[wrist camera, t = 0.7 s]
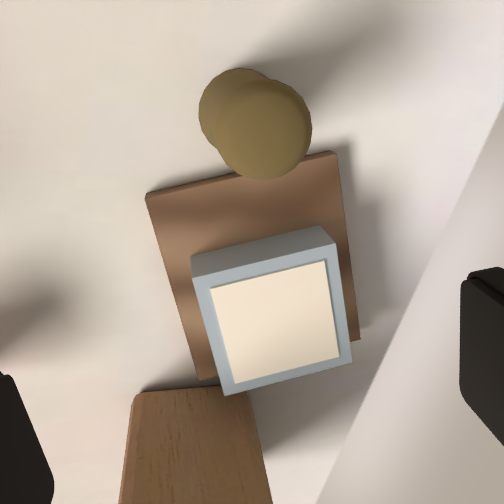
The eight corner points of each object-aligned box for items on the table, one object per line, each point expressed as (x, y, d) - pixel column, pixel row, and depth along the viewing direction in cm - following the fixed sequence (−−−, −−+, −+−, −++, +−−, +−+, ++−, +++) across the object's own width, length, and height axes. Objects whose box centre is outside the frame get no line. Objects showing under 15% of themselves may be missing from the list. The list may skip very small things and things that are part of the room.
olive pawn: (299, 99, 34) (351, 114, 24) (254, 171, 36) (284, 215, 25) (227, 49, 32) (250, 43, 22) (182, 128, 34) (185, 156, 24)
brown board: (146, 193, 35) (144, 198, 34) (330, 150, 36) (336, 154, 34) (198, 370, 41) (199, 380, 40) (354, 330, 42) (360, 339, 41)
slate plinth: (190, 256, 36) (191, 279, 32) (319, 224, 36) (336, 244, 32) (220, 365, 39) (224, 397, 36) (336, 335, 40) (353, 364, 36)
